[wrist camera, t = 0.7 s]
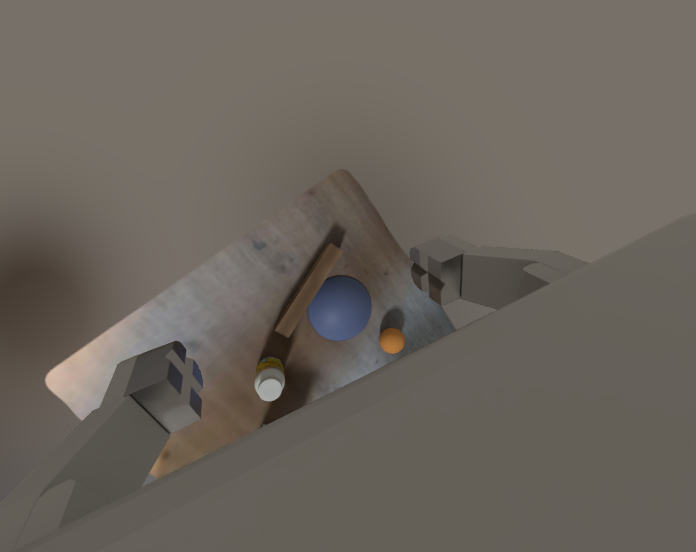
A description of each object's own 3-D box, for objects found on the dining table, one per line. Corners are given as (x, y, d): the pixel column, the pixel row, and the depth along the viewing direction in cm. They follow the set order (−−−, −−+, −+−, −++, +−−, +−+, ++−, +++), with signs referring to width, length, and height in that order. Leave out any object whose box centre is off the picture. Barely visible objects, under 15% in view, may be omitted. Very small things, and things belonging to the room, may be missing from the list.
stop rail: (338, 251, 59) (343, 251, 55) (287, 332, 57) (288, 338, 54) (326, 244, 59) (330, 242, 55) (274, 325, 57) (274, 330, 53)
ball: (402, 332, 64) (413, 339, 59) (390, 353, 64) (400, 361, 59) (383, 320, 63) (394, 326, 58) (371, 341, 62) (380, 349, 57)
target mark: (382, 297, 63) (382, 297, 62) (349, 351, 61) (349, 351, 61) (331, 263, 59) (331, 263, 59) (295, 320, 58) (295, 320, 58)
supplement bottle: (253, 379, 56) (249, 403, 47) (260, 353, 56) (258, 372, 47) (279, 383, 58) (281, 407, 48) (286, 358, 58) (289, 377, 48)
